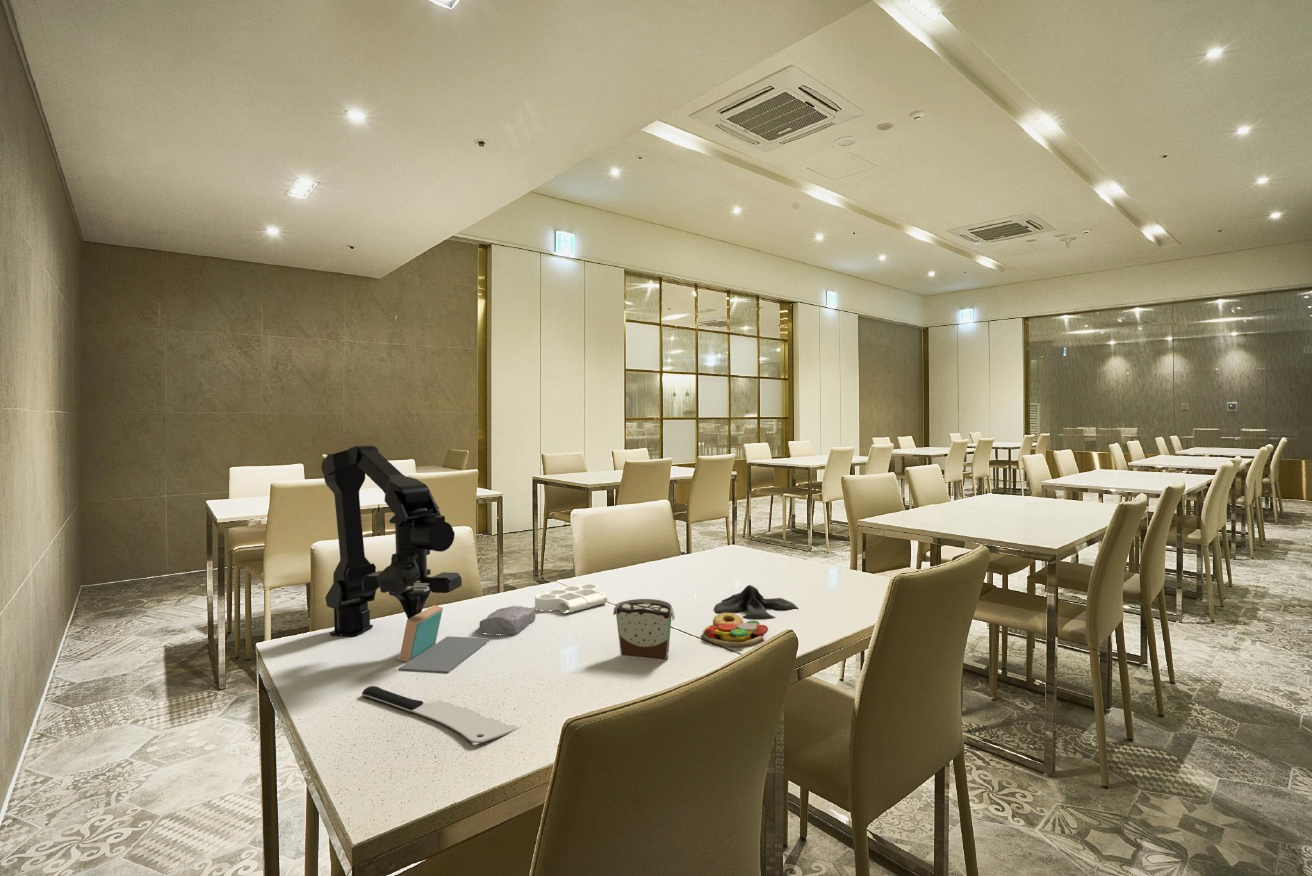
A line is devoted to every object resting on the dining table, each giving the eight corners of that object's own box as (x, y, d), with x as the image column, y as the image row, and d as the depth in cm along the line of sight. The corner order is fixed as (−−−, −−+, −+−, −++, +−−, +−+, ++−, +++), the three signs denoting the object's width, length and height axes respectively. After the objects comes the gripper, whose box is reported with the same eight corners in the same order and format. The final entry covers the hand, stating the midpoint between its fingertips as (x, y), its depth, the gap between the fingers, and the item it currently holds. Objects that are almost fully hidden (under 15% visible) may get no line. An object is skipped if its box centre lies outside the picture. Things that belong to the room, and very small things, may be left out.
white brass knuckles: (558, 619, 150) (524, 607, 160) (617, 603, 162) (582, 593, 173) (558, 605, 150) (524, 594, 160) (617, 590, 162) (581, 580, 173)
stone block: (477, 643, 139) (519, 636, 137) (472, 621, 139) (515, 613, 138) (500, 628, 151) (539, 621, 149) (496, 607, 151) (535, 600, 149)
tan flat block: (399, 659, 124) (407, 619, 123) (426, 641, 134) (434, 605, 133) (409, 662, 123) (417, 622, 123) (436, 644, 133) (443, 607, 133)
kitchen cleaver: (531, 718, 98) (480, 737, 90) (530, 729, 98) (479, 750, 90) (405, 676, 115) (353, 690, 107) (404, 686, 115) (352, 700, 107)
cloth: (806, 606, 158) (805, 581, 158) (775, 627, 142) (775, 599, 142) (725, 594, 170) (725, 571, 170) (689, 612, 155) (689, 586, 155)
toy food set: (722, 624, 144) (722, 609, 144) (777, 634, 137) (776, 619, 137) (690, 641, 133) (690, 625, 133) (748, 653, 126) (747, 637, 126)
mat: (398, 670, 119) (398, 668, 119) (447, 637, 137) (447, 636, 137) (448, 672, 118) (448, 671, 118) (491, 639, 135) (491, 638, 135)
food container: (683, 650, 127) (682, 600, 127) (674, 662, 121) (673, 609, 121) (625, 644, 131) (624, 596, 131) (613, 655, 125) (612, 604, 125)
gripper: (342, 554, 122) (345, 635, 122) (432, 555, 119) (435, 639, 119) (378, 543, 133) (380, 618, 133) (461, 544, 129) (464, 621, 130)
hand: (413, 624), depth 128 cm, fingers closed
